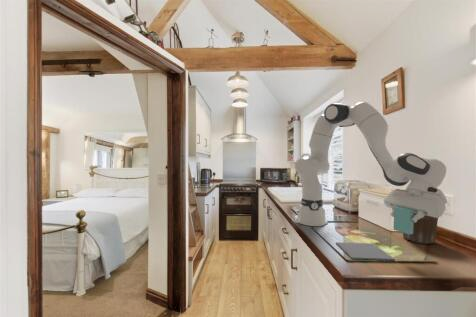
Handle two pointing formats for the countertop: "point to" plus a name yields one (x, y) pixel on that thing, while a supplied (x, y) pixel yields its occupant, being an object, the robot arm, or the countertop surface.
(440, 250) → the countertop surface
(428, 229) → the plant pot
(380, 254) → the mat
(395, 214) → the teal board
